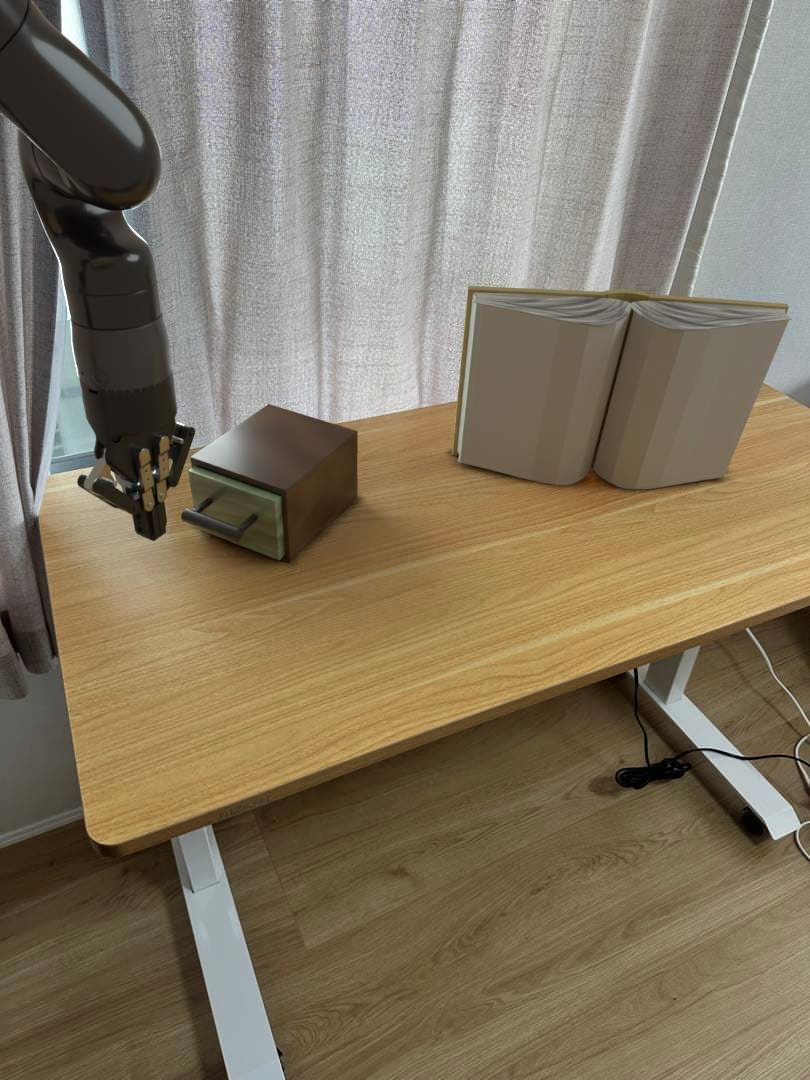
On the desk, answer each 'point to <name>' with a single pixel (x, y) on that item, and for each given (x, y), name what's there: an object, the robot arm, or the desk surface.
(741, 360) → the book
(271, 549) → the drawer
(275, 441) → the cabinet
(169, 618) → the desk surface
